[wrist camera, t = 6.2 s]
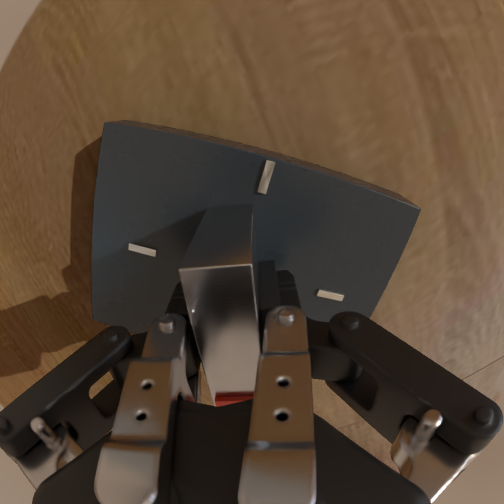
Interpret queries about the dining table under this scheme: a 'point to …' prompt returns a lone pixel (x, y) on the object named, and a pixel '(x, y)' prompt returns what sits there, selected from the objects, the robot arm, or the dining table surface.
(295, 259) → the base
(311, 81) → the dining table surface
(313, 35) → the dining table surface
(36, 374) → the dining table surface
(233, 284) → the tap handle
